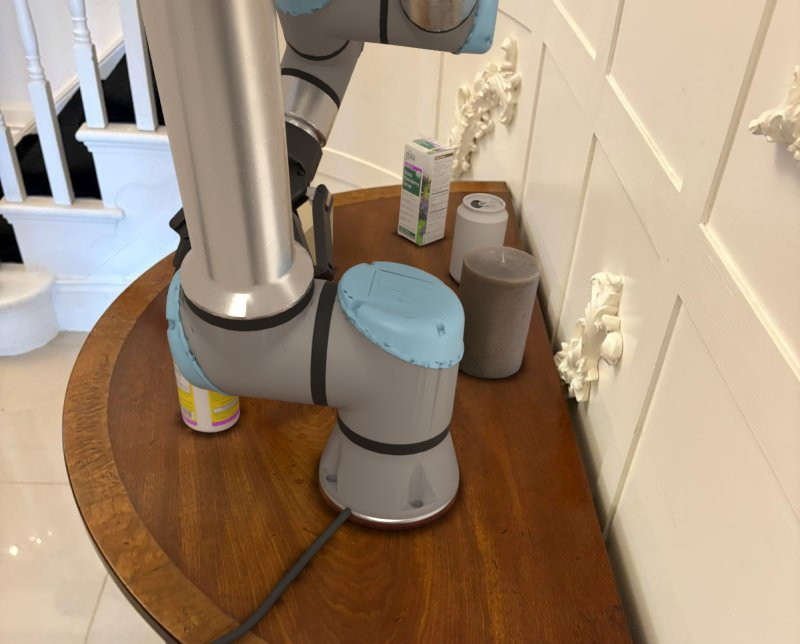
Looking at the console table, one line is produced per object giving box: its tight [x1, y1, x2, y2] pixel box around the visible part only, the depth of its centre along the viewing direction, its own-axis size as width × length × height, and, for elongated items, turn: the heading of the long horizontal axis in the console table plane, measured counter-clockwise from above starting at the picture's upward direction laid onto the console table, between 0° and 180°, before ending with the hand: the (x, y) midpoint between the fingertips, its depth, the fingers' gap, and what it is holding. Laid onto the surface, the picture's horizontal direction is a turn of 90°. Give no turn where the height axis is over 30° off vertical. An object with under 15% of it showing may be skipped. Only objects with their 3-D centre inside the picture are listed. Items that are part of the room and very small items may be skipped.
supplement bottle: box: [171, 355, 241, 433], centre depth 88 cm, size 7×7×13 cm
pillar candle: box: [457, 245, 543, 379], centre depth 100 cm, size 10×10×15 cm
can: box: [449, 192, 509, 284], centre depth 117 cm, size 8×8×12 cm
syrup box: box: [397, 136, 456, 247], centre depth 125 cm, size 6×6×14 cm
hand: (225, 316), depth 87 cm, fingers open, 13 cm apart
